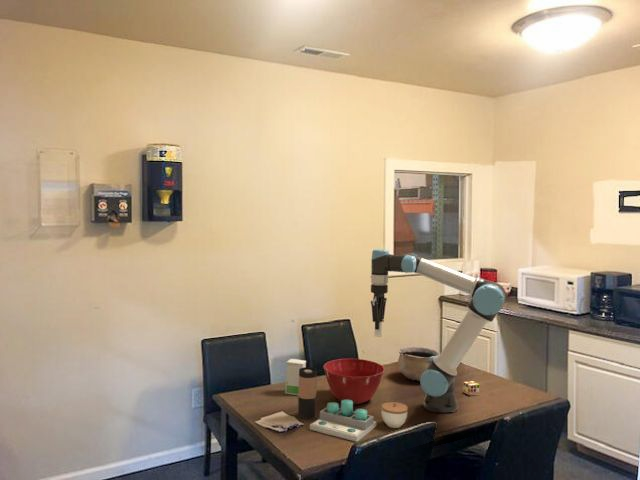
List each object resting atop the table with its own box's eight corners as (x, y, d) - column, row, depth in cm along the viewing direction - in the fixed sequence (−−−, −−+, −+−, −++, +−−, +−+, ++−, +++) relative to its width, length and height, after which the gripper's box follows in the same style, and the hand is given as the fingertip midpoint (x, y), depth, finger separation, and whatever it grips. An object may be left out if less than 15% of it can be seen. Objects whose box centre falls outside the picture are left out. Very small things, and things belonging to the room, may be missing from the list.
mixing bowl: (380, 413, 233) (381, 378, 232) (316, 406, 239) (317, 372, 238) (385, 392, 261) (386, 361, 260) (328, 387, 266) (329, 356, 266)
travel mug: (305, 411, 232) (307, 366, 232) (319, 415, 228) (320, 369, 227) (294, 416, 227) (295, 369, 226) (307, 420, 222) (308, 373, 221)
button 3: (340, 415, 222) (340, 403, 221) (334, 419, 217) (335, 407, 217) (330, 413, 224) (330, 401, 224) (324, 416, 220) (325, 404, 220)
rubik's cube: (479, 395, 260) (479, 384, 260) (469, 396, 258) (470, 385, 258) (472, 391, 265) (472, 380, 265) (462, 392, 263) (463, 381, 263)
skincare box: (284, 394, 254) (285, 361, 253) (288, 389, 260) (289, 358, 260) (301, 395, 252) (302, 363, 251) (305, 391, 258) (306, 359, 258)
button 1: (368, 422, 215) (369, 410, 215) (363, 426, 211) (364, 414, 211) (358, 419, 218) (358, 407, 217) (352, 423, 213) (353, 411, 213)
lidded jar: (404, 420, 226) (405, 398, 225) (409, 430, 215) (410, 407, 214) (379, 419, 225) (379, 397, 225) (383, 430, 214) (383, 407, 214)
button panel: (376, 426, 218) (376, 414, 218) (356, 441, 202) (357, 429, 202) (331, 415, 228) (331, 403, 228) (309, 429, 213) (310, 417, 213)
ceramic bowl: (392, 373, 293) (393, 346, 292) (429, 372, 296) (430, 345, 296) (405, 386, 271) (406, 357, 270) (446, 385, 275) (447, 356, 274)
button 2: (354, 413, 218) (354, 401, 218) (349, 416, 214) (349, 404, 214) (344, 410, 221) (344, 398, 220) (338, 414, 216) (339, 402, 216)
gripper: (377, 281, 245) (375, 332, 246) (365, 284, 234) (364, 337, 235) (392, 283, 241) (391, 334, 242) (381, 286, 230) (380, 340, 231)
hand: (377, 336), depth 239 cm, fingers closed
